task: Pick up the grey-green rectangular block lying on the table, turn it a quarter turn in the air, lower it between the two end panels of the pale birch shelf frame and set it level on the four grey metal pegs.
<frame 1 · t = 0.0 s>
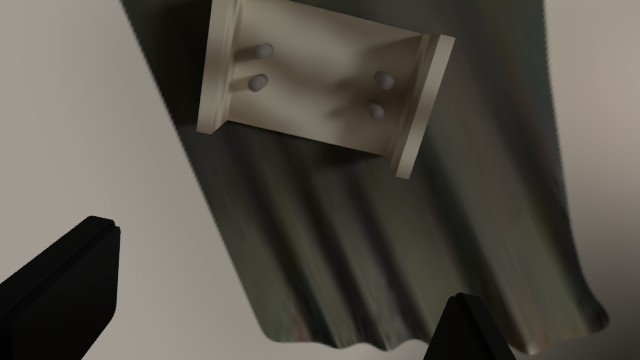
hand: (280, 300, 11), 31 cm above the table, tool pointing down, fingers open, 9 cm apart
shelf frame: (321, 77, 39), on the table
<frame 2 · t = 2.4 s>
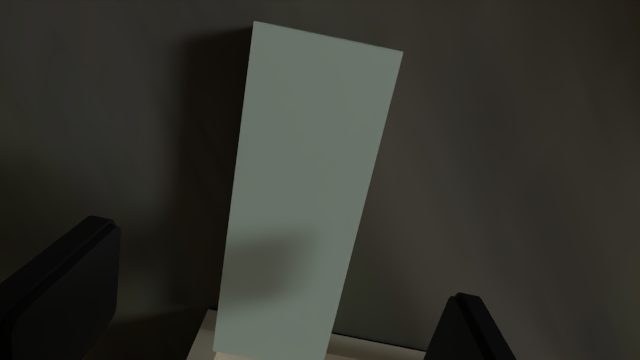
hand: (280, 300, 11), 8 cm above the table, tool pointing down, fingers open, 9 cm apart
grey-green rectangular block: (300, 186, 19), on the table
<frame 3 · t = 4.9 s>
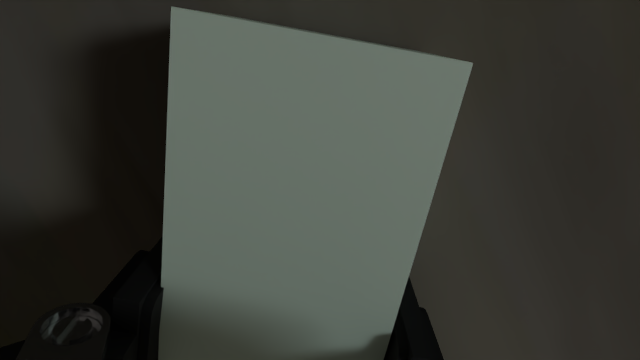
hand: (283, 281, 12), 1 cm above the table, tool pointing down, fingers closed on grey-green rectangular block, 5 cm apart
grey-green rectangular block: (287, 263, 13), on the table, touching gripper
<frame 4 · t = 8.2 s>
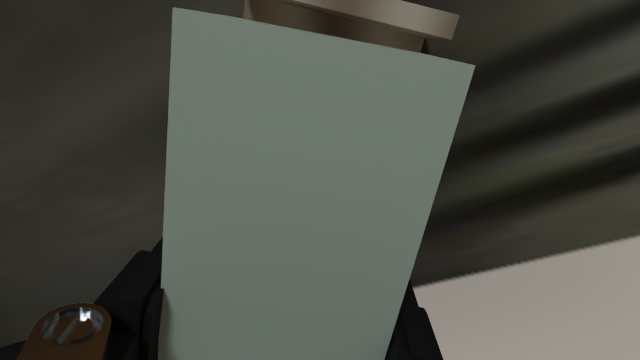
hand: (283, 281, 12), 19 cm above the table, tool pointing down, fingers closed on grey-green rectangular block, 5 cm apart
grey-green rectangular block: (287, 264, 13), point 18 cm above the table, touching gripper
shelf frame: (310, 130, 30), on the table
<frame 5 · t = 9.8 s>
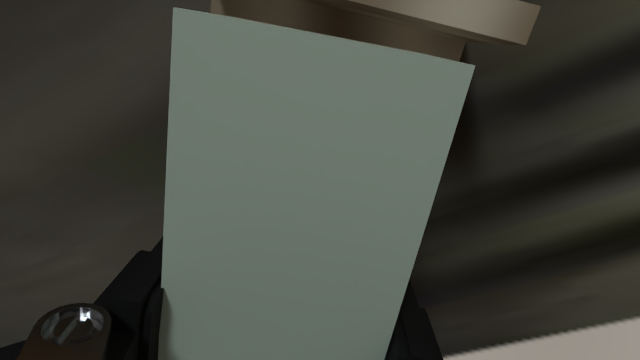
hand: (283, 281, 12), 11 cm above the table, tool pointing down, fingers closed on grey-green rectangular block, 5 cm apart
grey-green rectangular block: (287, 264, 13), point 10 cm above the table, touching gripper
shelf frame: (306, 164, 22), on the table
when the fingers open (8 cm above the table, at t = 11.5 s): grey-green rectangular block drops 1 cm, resting on shelf frame.
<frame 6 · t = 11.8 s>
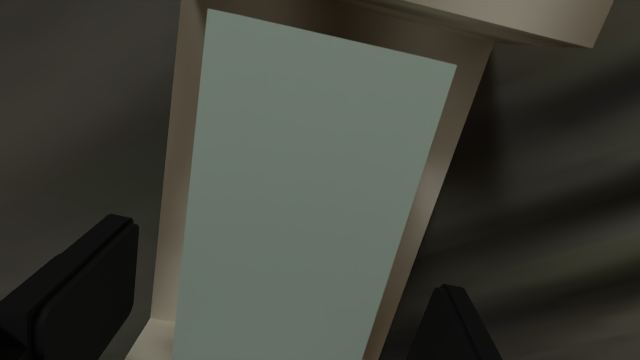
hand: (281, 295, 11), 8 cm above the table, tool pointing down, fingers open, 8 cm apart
grey-green rectangular block: (288, 242, 14), point 5 cm above the table, touching shelf frame
shelf frame: (300, 187, 19), on the table
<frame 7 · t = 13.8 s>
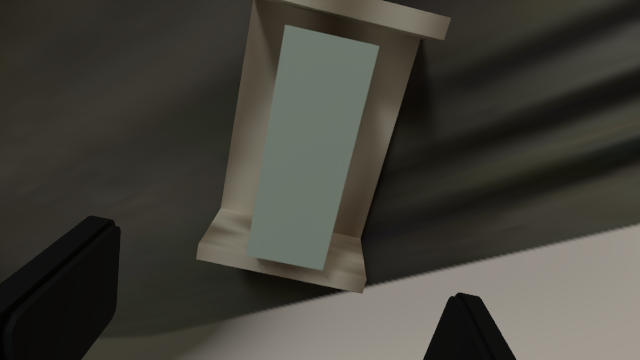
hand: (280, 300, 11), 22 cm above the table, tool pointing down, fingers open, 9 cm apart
grey-green rectangular block: (309, 143, 27), point 5 cm above the table, touching shelf frame
shelf frame: (313, 126, 32), on the table
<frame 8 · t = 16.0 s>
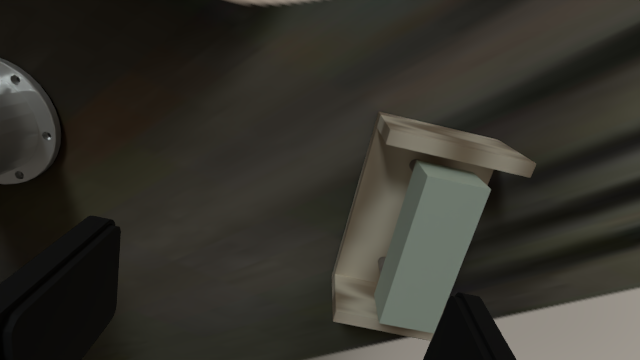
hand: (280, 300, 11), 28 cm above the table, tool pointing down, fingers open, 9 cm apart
grey-green rectangular block: (420, 237, 36), point 5 cm above the table, touching shelf frame
shelf frame: (409, 212, 41), on the table
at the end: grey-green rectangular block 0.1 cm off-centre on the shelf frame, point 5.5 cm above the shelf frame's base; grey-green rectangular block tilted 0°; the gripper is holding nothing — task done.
